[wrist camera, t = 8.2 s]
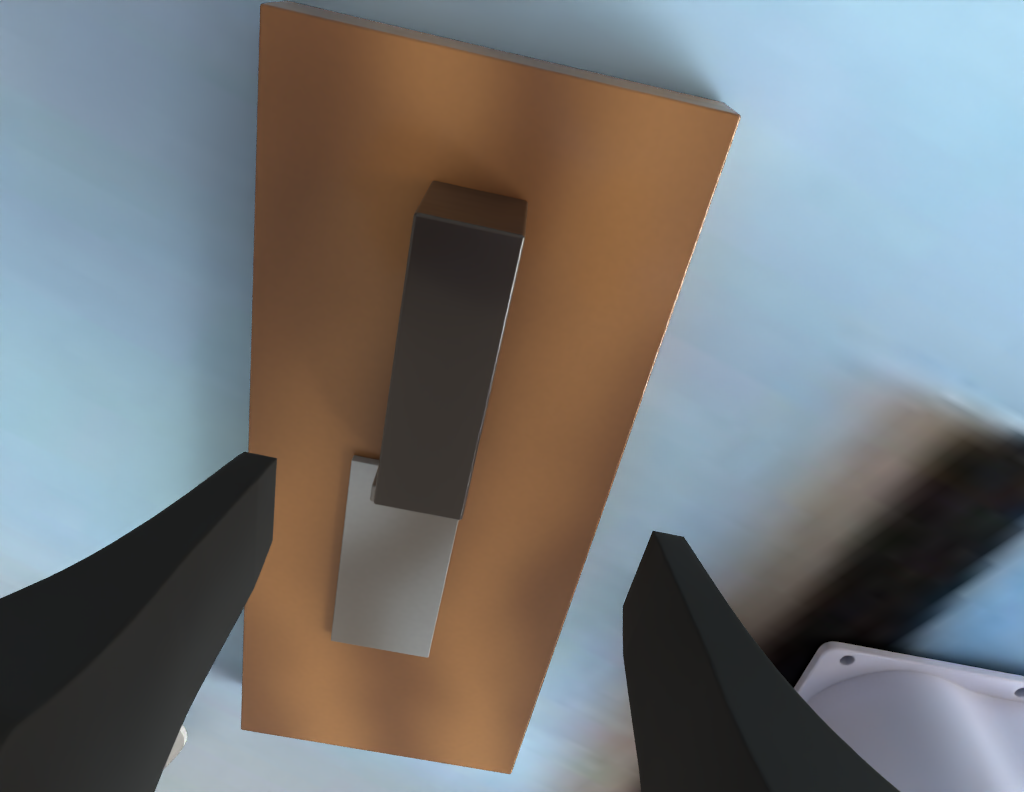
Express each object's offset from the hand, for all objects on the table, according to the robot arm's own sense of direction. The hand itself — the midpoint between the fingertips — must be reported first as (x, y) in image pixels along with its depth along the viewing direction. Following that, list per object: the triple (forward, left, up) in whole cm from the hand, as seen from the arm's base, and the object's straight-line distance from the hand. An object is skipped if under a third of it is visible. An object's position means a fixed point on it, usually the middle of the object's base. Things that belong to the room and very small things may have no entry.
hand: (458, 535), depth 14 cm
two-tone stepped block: (+2, +4, -7) cm, 8 cm away
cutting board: (+1, +5, -9) cm, 11 cm away
